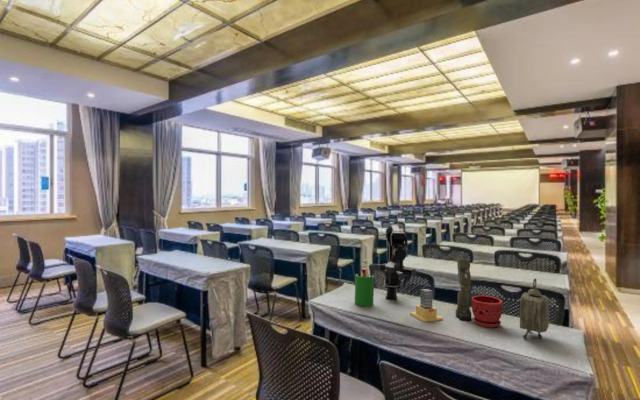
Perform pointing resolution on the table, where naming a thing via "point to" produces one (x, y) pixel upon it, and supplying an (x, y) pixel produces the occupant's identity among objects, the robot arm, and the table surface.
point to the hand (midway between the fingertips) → (396, 286)
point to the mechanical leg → (464, 290)
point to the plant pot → (487, 310)
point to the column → (426, 298)
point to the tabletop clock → (534, 311)
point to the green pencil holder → (364, 289)
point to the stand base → (426, 314)
